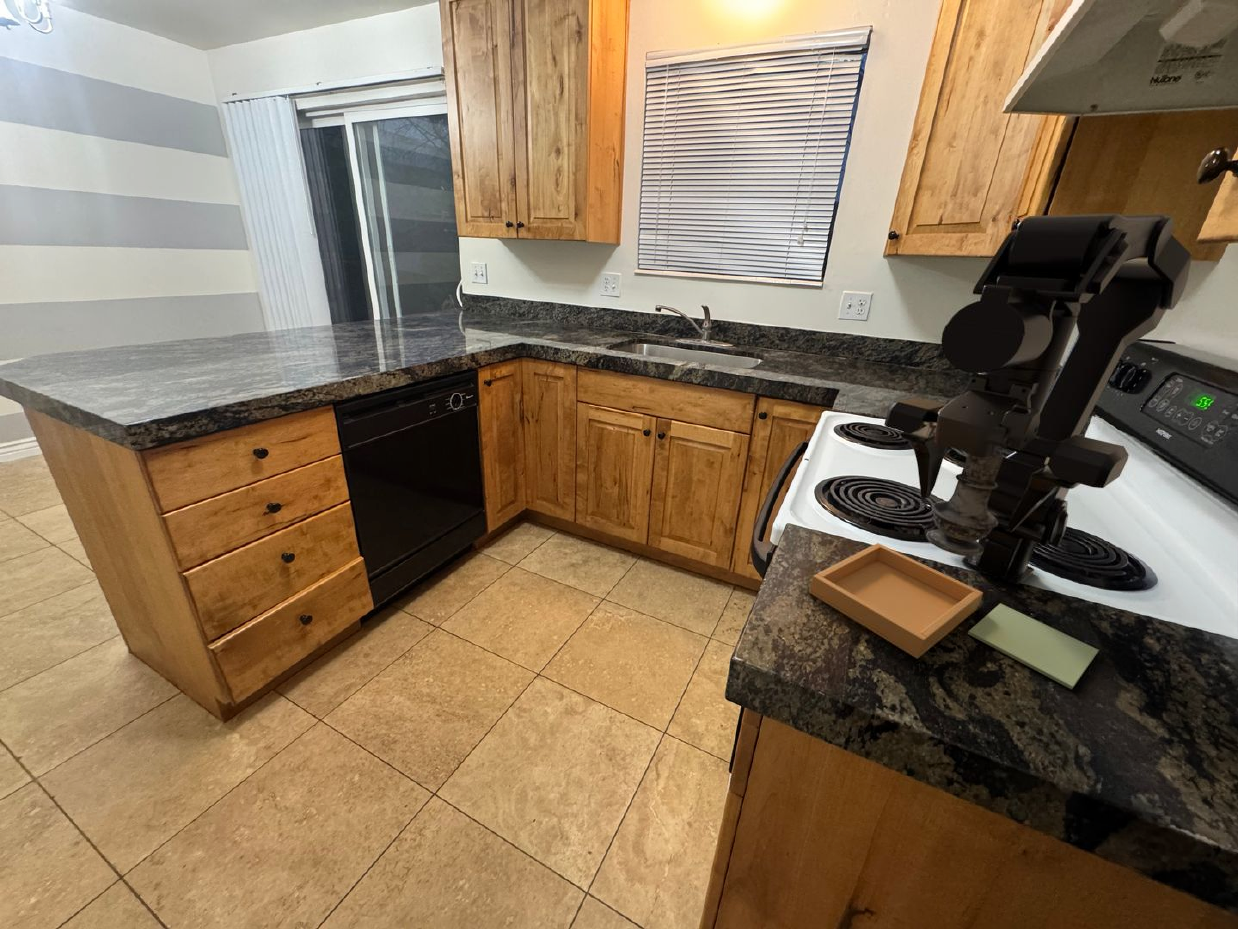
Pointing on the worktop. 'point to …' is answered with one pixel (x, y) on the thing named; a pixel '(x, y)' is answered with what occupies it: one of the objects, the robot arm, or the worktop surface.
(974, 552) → the stone finial
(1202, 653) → the worktop surface
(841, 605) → the tray
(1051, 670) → the mat
